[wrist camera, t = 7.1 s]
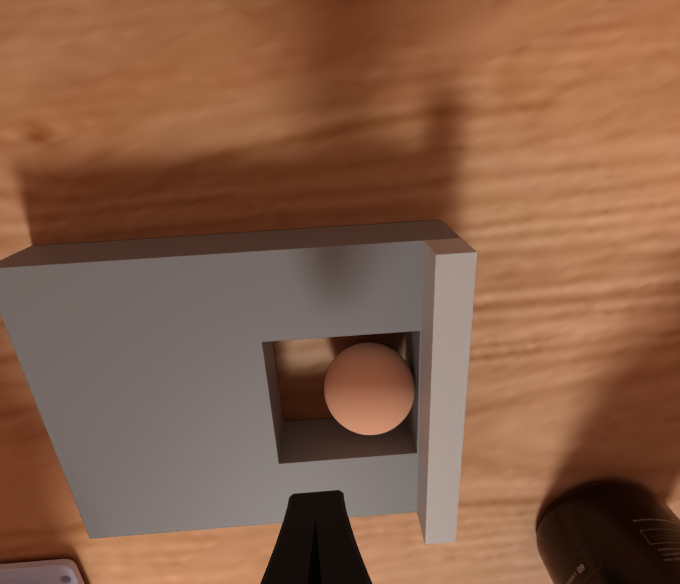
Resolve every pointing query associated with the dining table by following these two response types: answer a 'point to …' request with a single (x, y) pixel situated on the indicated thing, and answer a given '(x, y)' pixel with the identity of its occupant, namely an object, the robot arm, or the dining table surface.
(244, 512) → the hole deck
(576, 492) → the supplement bottle
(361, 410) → the ball
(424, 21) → the dining table surface
